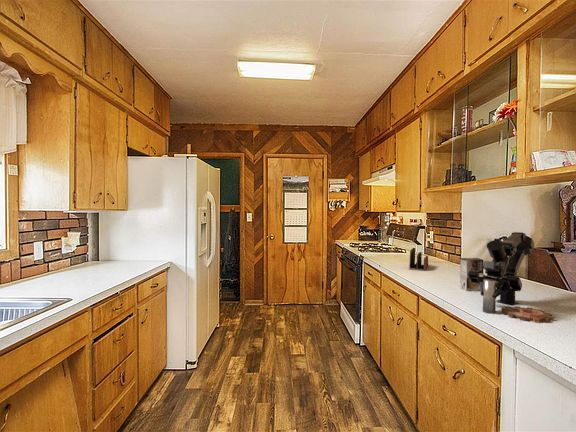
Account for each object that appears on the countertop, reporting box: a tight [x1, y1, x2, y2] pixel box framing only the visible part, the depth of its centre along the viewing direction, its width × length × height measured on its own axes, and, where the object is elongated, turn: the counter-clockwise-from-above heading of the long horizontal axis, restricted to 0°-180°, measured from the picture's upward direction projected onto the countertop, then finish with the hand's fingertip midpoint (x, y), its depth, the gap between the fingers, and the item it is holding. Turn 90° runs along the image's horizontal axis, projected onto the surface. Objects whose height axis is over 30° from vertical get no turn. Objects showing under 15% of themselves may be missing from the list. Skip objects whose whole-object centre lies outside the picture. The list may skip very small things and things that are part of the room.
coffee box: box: [459, 257, 484, 292], centre depth 172 cm, size 9×6×16 cm
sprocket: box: [500, 305, 555, 323], centre depth 131 cm, size 16×16×3 cm
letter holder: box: [408, 247, 429, 272], centre depth 235 cm, size 10×20×14 cm, turn 150°
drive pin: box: [482, 279, 497, 315], centre depth 135 cm, size 4×4×13 cm
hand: (488, 296), depth 134 cm, fingers closed on drive pin, 4 cm apart
